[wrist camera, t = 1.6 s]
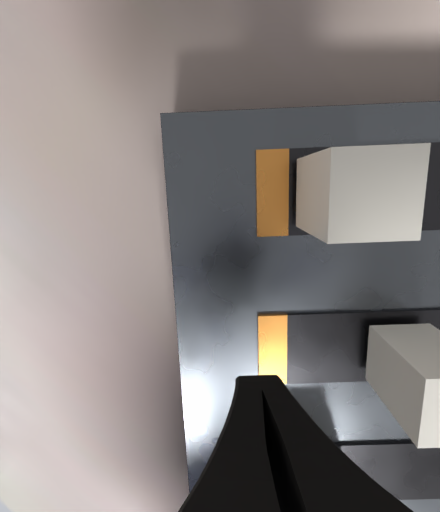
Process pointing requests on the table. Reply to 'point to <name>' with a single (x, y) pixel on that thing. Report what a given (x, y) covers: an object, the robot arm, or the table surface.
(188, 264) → the panel
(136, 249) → the table surface
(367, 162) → the block
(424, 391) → the block
